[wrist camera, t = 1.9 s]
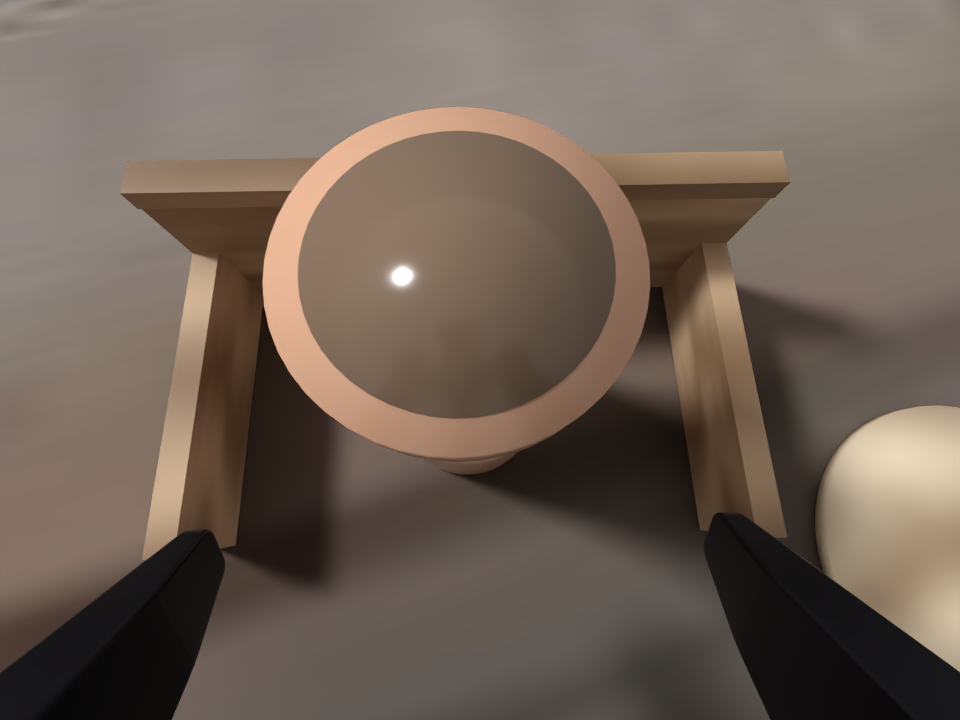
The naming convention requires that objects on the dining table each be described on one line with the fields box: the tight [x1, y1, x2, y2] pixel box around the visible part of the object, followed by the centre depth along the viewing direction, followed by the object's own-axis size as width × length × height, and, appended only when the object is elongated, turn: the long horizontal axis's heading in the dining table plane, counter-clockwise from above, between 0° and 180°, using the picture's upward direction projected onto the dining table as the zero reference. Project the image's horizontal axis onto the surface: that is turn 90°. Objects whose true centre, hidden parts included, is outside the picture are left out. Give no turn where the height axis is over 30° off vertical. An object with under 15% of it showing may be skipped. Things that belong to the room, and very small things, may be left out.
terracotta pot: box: [263, 107, 650, 475], centre depth 14 cm, size 7×7×13 cm
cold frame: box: [120, 151, 790, 559], centre depth 17 cm, size 12×21×8 cm, turn 92°
